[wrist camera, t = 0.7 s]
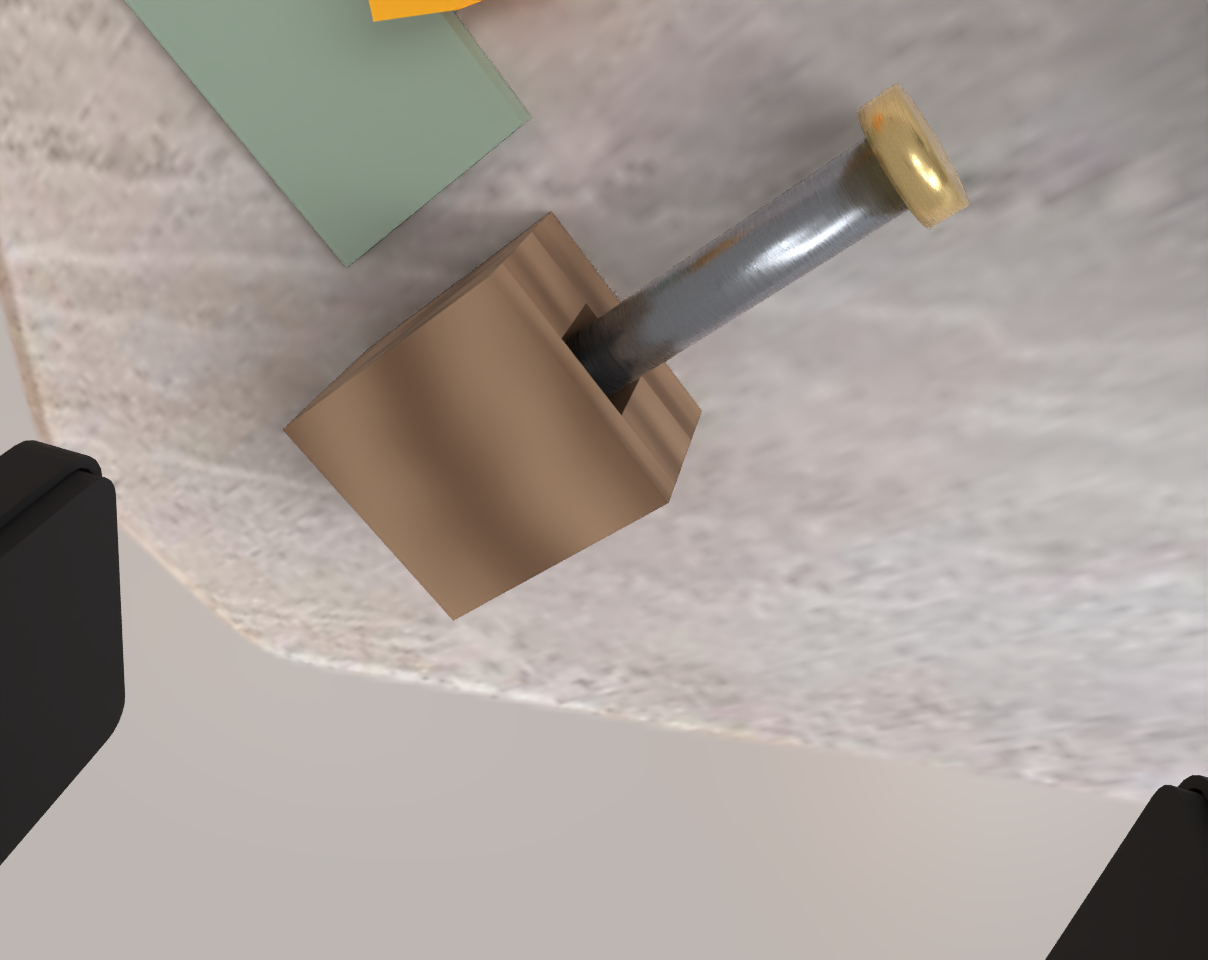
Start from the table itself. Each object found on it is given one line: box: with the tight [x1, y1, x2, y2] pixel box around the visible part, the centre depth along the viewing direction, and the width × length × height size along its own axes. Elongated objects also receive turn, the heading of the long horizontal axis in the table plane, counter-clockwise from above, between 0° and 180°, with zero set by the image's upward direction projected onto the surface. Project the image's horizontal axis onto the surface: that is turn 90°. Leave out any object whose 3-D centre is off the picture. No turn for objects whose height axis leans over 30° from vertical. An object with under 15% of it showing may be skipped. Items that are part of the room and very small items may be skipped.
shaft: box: [564, 83, 969, 398], centre depth 35 cm, size 15×4×4 cm, turn 129°
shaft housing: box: [283, 212, 702, 620], centre depth 40 cm, size 10×9×7 cm
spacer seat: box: [124, 0, 532, 268], centre depth 37 cm, size 9×15×1 cm, turn 39°
